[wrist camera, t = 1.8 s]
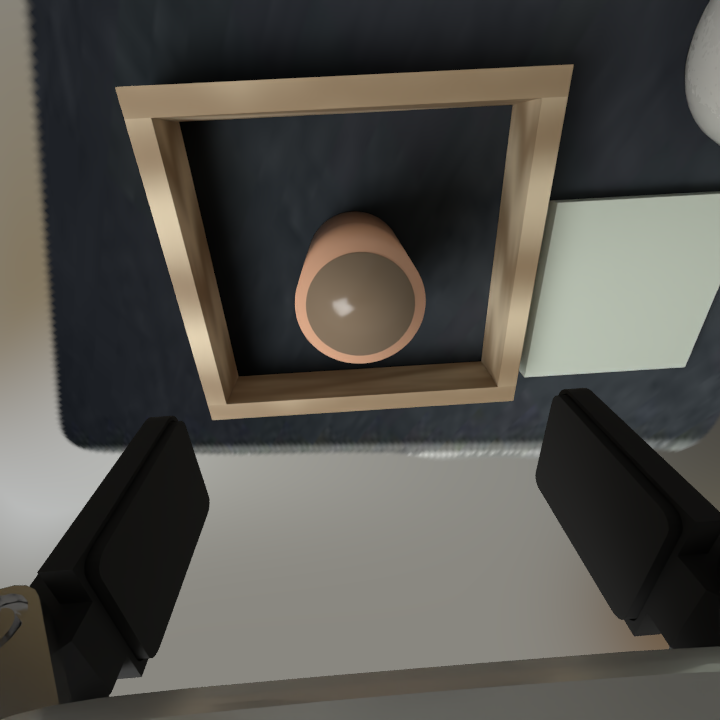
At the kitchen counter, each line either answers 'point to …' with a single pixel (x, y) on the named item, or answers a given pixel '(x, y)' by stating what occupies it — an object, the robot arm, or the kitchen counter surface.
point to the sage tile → (622, 283)
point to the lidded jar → (705, 72)
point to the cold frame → (335, 96)
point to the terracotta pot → (358, 290)
